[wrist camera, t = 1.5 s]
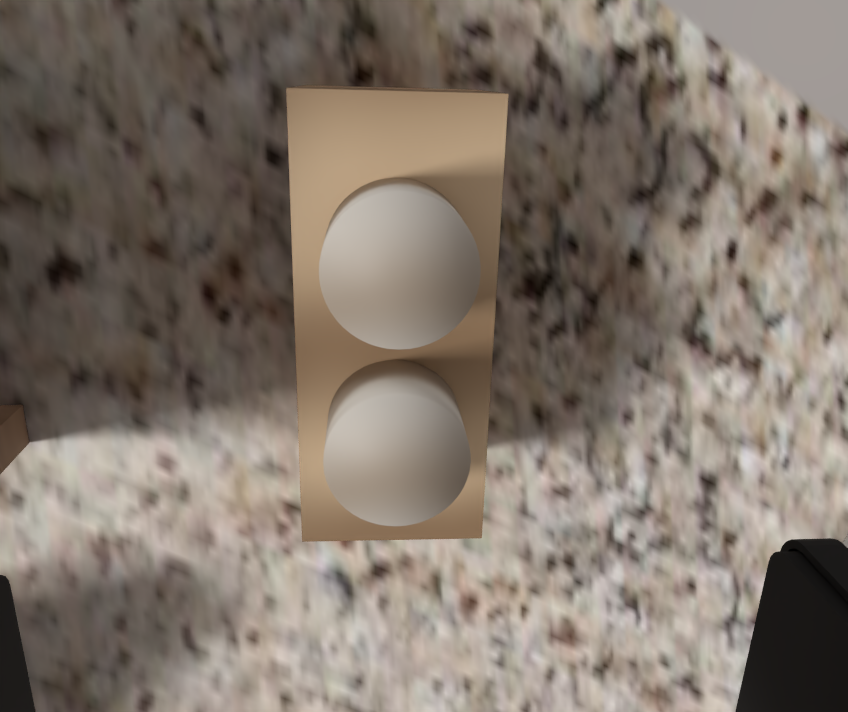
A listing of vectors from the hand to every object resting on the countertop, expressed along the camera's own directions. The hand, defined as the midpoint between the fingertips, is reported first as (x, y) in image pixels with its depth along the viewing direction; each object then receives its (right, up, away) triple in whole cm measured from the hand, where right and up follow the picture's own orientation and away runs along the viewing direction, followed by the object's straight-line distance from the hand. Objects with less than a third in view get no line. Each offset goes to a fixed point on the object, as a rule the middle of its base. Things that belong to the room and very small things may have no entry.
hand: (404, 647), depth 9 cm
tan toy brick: (-1, +6, +17) cm, 18 cm away
